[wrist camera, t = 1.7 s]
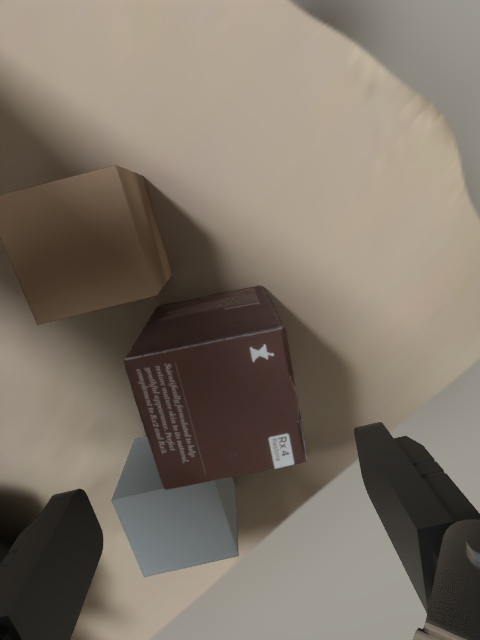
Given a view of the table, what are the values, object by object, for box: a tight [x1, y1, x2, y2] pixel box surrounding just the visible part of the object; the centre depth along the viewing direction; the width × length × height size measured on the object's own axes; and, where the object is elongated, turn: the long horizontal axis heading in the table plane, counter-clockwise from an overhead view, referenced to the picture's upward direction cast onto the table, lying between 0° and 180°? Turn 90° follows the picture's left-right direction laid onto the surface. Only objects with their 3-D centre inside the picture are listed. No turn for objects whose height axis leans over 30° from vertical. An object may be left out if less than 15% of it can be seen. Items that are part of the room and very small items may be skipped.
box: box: [124, 286, 307, 490], centre depth 18 cm, size 6×6×7 cm
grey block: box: [111, 436, 239, 577], centre depth 21 cm, size 5×5×5 cm
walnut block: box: [0, 165, 172, 325], centre depth 17 cm, size 5×5×5 cm
